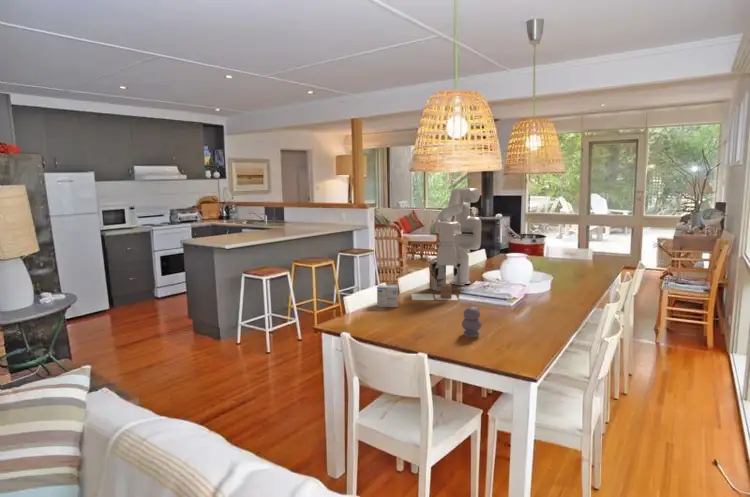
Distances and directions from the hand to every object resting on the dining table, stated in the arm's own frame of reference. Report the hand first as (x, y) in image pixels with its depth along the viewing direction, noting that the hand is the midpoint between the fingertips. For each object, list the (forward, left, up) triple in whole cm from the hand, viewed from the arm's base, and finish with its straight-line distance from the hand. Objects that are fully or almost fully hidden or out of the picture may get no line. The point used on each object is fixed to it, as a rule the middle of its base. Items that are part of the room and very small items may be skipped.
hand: (446, 275), depth 254 cm
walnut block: (-1, 0, -12) cm, 12 cm away
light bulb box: (+17, -32, -13) cm, 39 cm away
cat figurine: (+63, +4, -13) cm, 65 cm away
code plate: (-1, 0, -13) cm, 13 cm away
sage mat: (-1, -13, -13) cm, 18 cm away
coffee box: (-21, -3, -13) cm, 24 cm away
